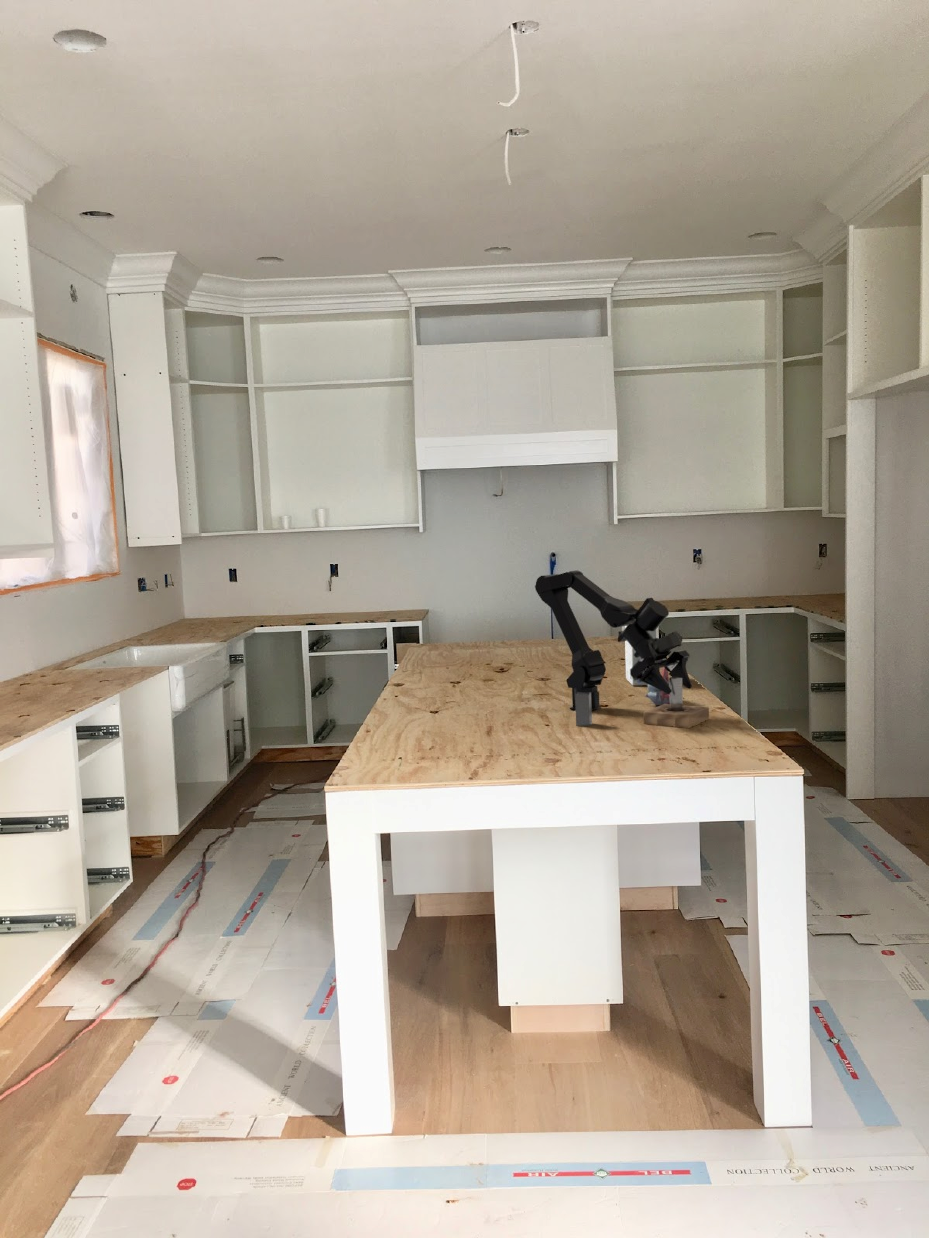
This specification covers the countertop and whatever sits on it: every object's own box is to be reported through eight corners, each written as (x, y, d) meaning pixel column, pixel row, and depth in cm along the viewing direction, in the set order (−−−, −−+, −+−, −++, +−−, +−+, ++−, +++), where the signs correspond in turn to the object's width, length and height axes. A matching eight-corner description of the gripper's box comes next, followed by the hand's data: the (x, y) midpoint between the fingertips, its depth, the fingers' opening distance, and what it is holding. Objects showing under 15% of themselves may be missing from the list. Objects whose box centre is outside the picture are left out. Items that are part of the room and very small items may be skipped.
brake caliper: (688, 698, 265) (659, 663, 266) (655, 722, 268) (627, 687, 270) (693, 691, 276) (665, 657, 277) (661, 714, 279) (635, 680, 281)
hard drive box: (657, 685, 301) (656, 620, 299) (632, 686, 301) (630, 621, 299) (649, 677, 316) (647, 615, 314) (625, 678, 316) (623, 616, 315)
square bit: (576, 725, 248) (575, 694, 247) (578, 723, 251) (577, 691, 250) (589, 726, 247) (588, 694, 246) (592, 723, 250) (591, 692, 249)
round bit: (669, 722, 247) (668, 679, 246) (670, 720, 250) (669, 676, 249) (682, 722, 246) (682, 679, 245) (683, 720, 249) (682, 676, 248)
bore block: (643, 723, 247) (643, 711, 247) (664, 715, 256) (664, 703, 256) (688, 728, 240) (688, 715, 239) (709, 719, 249) (708, 707, 249)
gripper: (638, 626, 242) (677, 674, 235) (682, 618, 255) (721, 664, 248) (613, 655, 249) (650, 703, 242) (658, 646, 261) (694, 692, 254)
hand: (680, 690), depth 246 cm, fingers open, 8 cm apart
